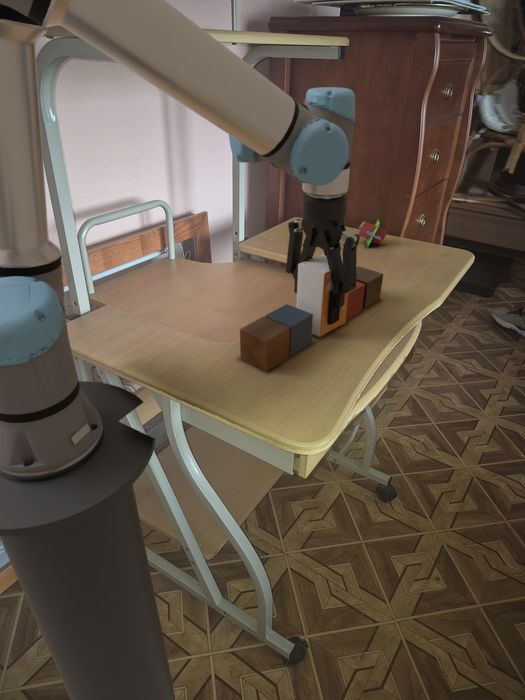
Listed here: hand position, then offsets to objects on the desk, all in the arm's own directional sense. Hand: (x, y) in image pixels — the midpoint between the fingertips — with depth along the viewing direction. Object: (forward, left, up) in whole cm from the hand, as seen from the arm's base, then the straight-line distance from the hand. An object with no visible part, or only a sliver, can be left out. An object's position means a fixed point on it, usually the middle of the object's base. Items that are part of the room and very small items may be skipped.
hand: (317, 315), depth 95 cm
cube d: (0, +15, -2) cm, 16 cm away
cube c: (0, +8, -2) cm, 9 cm away
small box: (0, +1, -3) cm, 3 cm away
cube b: (0, -9, -2) cm, 9 cm away
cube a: (0, -15, -2) cm, 15 cm away
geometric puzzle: (-16, +46, -3) cm, 49 cm away
